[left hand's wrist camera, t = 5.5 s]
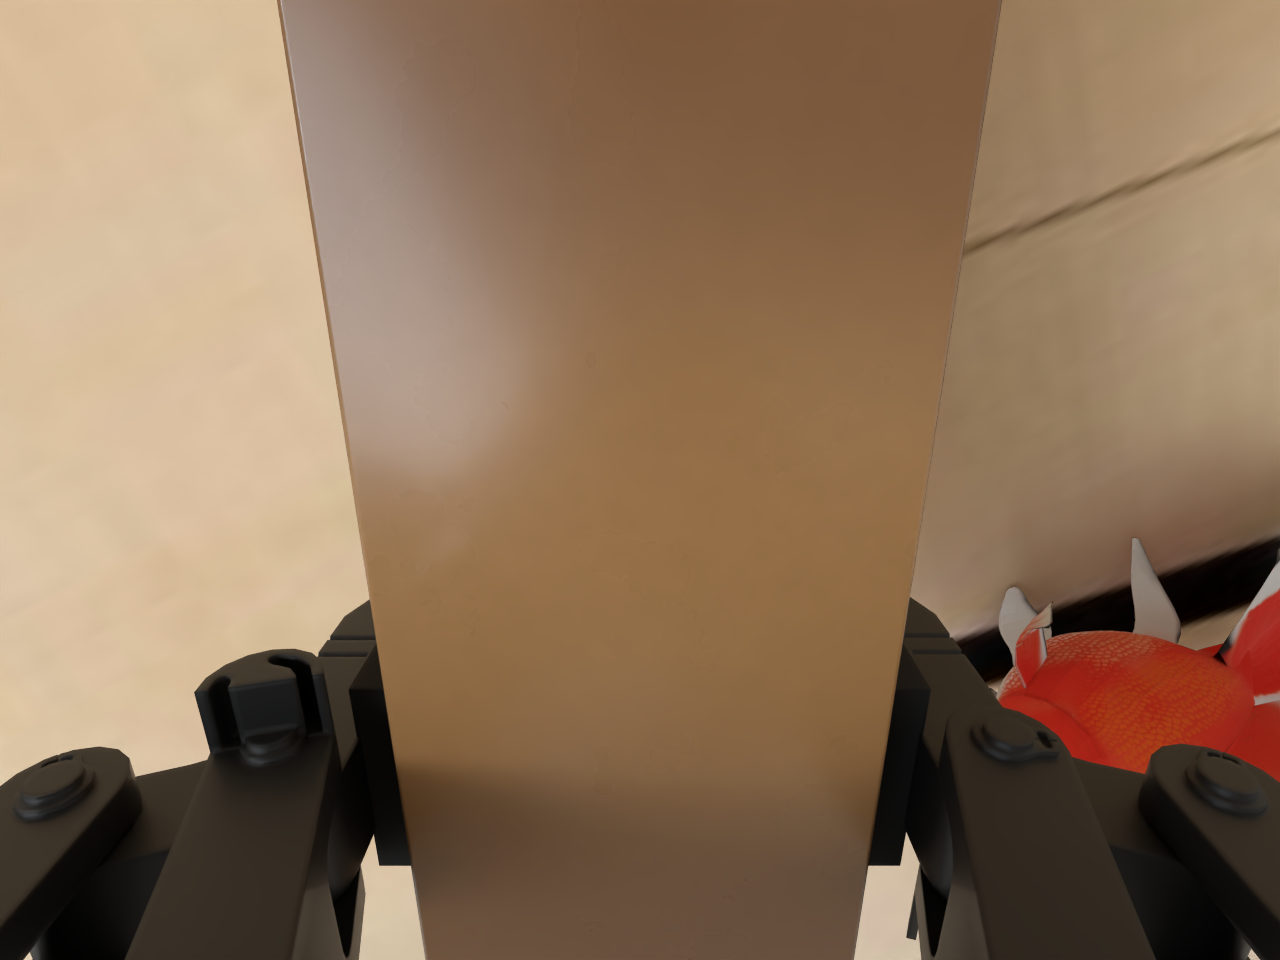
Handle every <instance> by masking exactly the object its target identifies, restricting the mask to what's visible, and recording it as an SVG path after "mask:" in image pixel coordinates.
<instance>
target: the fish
mask: <svg viewBox="0 0 1280 960" xmlns="http://www.w3.org/2000/svg"><path fill="white" fill-rule="evenodd" d="M1131 586H1132V594H1133V601H1134V607H1135V619H1136V620H1135V627H1134V631H1133V633H1130V632H1120V631H1088V632H1076V633H1068V634H1063V635H1058V636H1055V637H1052V638H1051V633H1052V632H1051V627H1050V625H1051V623H1052V603H1053V601H1052V602H1051V603H1050V604H1049V605H1048V606H1047V607H1046V608H1045V609H1044V610H1043V611H1042V612H1041V613H1040V614H1039V613H1038V612H1037V611H1036V610H1035V609H1034V608H1033V607H1032V606H1031V605H1030V603H1029V602H1028V601H1027V599H1026V598H1025V596H1024V595H1023V593H1022V592H1021V590H1020V589H1019V588H1017V587H1012V588H1009V589H1008V590H1007V592H1006V594H1005V597H1004V600H1003V603H1002V607H1001V611H1000V615H999V629H1000V633H1001V635H1002V637H1003V639H1004V641H1005V642H1006V644H1007V645H1008V647H1009V649H1010V651H1011V654H1012V658H1013V665H1014V667H1013V668H1012V669H1011V670H1010V671H1009V673H1008V674H1007V675H1006V677H1005V678H1004V679H1003V681H1002V683H1001V685H1000V688H999V690H998V692H995V691H994V690H993V689H991V688H989V689H990V690H991V692H992V693H993V694H994V696H995V697H996V698H997V700H998V701H999V703H1000V704H1001V705H1002V707H1004V708H1008V709H1012V710H1015V711H1019V712H1021V713H1023V714H1025V715H1027V716H1029V717H1031V718H1033V719H1036V720H1038V721H1040V722H1041V723H1043V724H1044V725H1045V726H1047V727H1048V728H1049V729H1050V730H1052V731H1053V732H1054V733H1056V734H1057V735H1058V736H1059V737H1060V738H1061V740H1062V741H1063V743H1064V744H1065V746H1066V747H1067V749H1068V750H1069V751H1070V754H1071V756H1072V757H1075V758H1078V759H1082V760H1085V761H1089V762H1093V763H1097V764H1102V765H1107V766H1111V767H1116V768H1120V769H1125V770H1130V771H1134V772H1139V773H1143V774H1145V773H1146V770H1147V766H1148V763H1149V760H1150V757H1151V755H1152V754H1153V753H1154V752H1155V751H1157V750H1158V749H1159V748H1160V747H1162V746H1167V745H1174V744H1189V745H1196V746H1204V747H1209V748H1212V749H1216V750H1220V751H1221V752H1226V753H1228V754H1231V755H1234V756H1236V757H1238V758H1240V759H1242V760H1244V761H1246V762H1248V763H1250V764H1252V765H1254V766H1256V767H1258V768H1260V769H1262V770H1264V771H1265V772H1266V773H1268V774H1269V775H1270V776H1272V777H1273V778H1274V779H1276V780H1277V781H1278V782H1280V548H1279V549H1278V552H1277V561H1276V565H1275V567H1274V568H1273V570H1272V572H1271V573H1270V575H1269V576H1268V578H1267V580H1266V581H1265V583H1264V585H1263V586H1262V588H1261V589H1260V591H1259V592H1258V594H1257V595H1256V597H1255V598H1254V600H1253V601H1252V603H1251V604H1250V606H1249V607H1248V609H1247V610H1246V612H1245V613H1244V614H1243V616H1242V617H1241V619H1240V620H1239V622H1238V623H1237V625H1236V626H1235V627H1234V629H1233V630H1232V632H1231V633H1230V635H1229V636H1228V638H1227V639H1226V641H1225V642H1224V643H1223V644H1220V645H1216V646H1212V647H1208V648H1204V649H1200V650H1197V651H1195V650H1192V649H1189V648H1186V647H1183V646H1180V645H1178V644H1177V643H1178V641H1179V638H1180V635H1181V627H1180V620H1179V618H1178V616H1177V614H1176V611H1175V609H1174V607H1173V605H1172V603H1171V601H1170V600H1169V598H1168V596H1167V594H1166V593H1165V591H1164V589H1163V587H1162V585H1161V583H1160V582H1159V580H1158V578H1157V576H1156V574H1155V572H1154V570H1153V568H1152V566H1151V563H1150V561H1149V559H1148V557H1147V555H1146V553H1145V550H1144V548H1143V546H1142V544H1141V542H1140V540H1139V539H1137V538H1132V562H1131Z"/></svg>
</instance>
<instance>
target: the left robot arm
mask: <svg viewBox="0 0 1280 960" xmlns="http://www.w3.org/2000/svg"><path fill="white" fill-rule="evenodd" d="M194 693H195V697H196V701H197V704H198V708H199V712H200V716H201V719H202V723H203V727H204V730H205V734H206V738H207V742H208V745H209V749H210V755H209V757H208V760H205V761H202V762H198V763H195V764H191V765H187V766H183V767H178V768H173V769H169V770H164V771H160V772H155V773H151V774H146V775H142V776H137V777H135V775H134V771H133V768H132V765H131V762H130V759H129V758H128V757H127V756H126V755H125V754H123V753H122V752H121V751H120V750H118V749H112V748H105V747H93V748H85V749H78V750H72V751H69V752H66V753H62V754H60V755H55V756H53V757H50V758H47V759H45V760H43V761H41V762H39V763H37V764H35V765H33V766H31V767H29V768H27V769H25V770H23V771H21V772H19V773H18V774H16V775H15V776H13V777H12V778H11V779H9V780H8V781H7V782H5V783H4V784H3V785H1V786H0V960H23V959H24V958H25V957H26V956H27V954H28V953H29V952H30V954H31V956H32V958H33V960H359V952H360V942H361V932H362V922H363V913H364V903H365V888H364V881H363V875H362V870H361V863H362V860H363V858H364V856H365V853H366V851H367V849H368V846H369V844H370V841H371V839H372V837H373V834H374V838H375V843H376V849H377V855H378V860H379V866H411V862H410V855H409V849H408V842H407V836H406V830H405V823H404V817H403V810H402V804H401V797H400V791H399V784H398V778H397V771H396V765H395V759H394V752H393V746H392V739H391V733H390V726H389V720H388V713H387V707H386V700H385V694H384V687H383V681H382V675H381V668H380V662H379V655H378V649H377V642H376V636H375V629H374V623H373V616H372V610H371V604H370V600H368V601H367V602H365V603H364V604H362V605H361V606H359V607H358V608H356V609H355V610H353V611H352V612H351V613H349V614H348V615H346V616H345V617H344V618H343V619H342V621H341V622H340V624H339V625H338V626H337V628H336V629H335V631H334V632H333V633H332V635H331V636H330V640H327V642H326V643H325V644H324V646H323V647H322V649H321V650H320V651H319V655H318V657H316V656H315V655H314V654H313V653H310V652H306V651H301V650H297V649H277V650H269V651H265V652H260V653H256V654H252V655H248V656H245V657H243V658H241V659H238V660H236V661H234V662H231V663H229V664H226V665H224V666H223V667H222V668H220V669H219V670H217V671H216V672H214V673H213V674H211V675H210V676H208V677H207V678H206V679H205V680H204V681H203V682H202V684H201V685H200V686H199V687H198V688H197V690H196V691H195V692H194ZM906 832H907V834H908V837H909V839H910V841H911V844H912V846H913V848H914V851H915V853H916V855H917V858H918V860H919V863H920V865H919V870H918V875H917V881H916V886H915V891H914V896H913V902H912V907H911V912H910V918H909V923H908V930H907V937H906V938H910V939H914V940H916V936H917V931H918V930H919V940H920V950H921V960H1250V959H1249V957H1248V954H1249V952H1250V950H1251V949H1252V950H1253V951H1254V952H1255V954H1256V955H1257V956H1258V957H1259V959H1260V960H1280V782H1278V781H1277V780H1276V779H1274V778H1273V777H1272V776H1270V775H1269V774H1268V773H1266V772H1265V771H1264V770H1262V769H1260V768H1258V767H1256V766H1254V765H1252V764H1250V763H1248V762H1246V761H1244V760H1242V759H1240V758H1238V757H1236V756H1234V755H1231V754H1228V753H1226V752H1221V751H1220V750H1216V749H1212V748H1209V747H1204V746H1196V745H1189V744H1174V745H1167V746H1162V747H1160V748H1159V749H1158V750H1157V751H1155V752H1154V753H1153V754H1152V755H1151V757H1150V760H1149V763H1148V766H1147V770H1146V773H1145V774H1143V773H1139V772H1134V771H1130V770H1125V769H1120V768H1116V767H1111V766H1107V765H1102V764H1097V763H1093V762H1089V761H1085V760H1082V759H1078V758H1075V757H1072V756H1071V754H1070V751H1069V750H1068V749H1067V747H1066V746H1065V744H1064V743H1063V741H1062V740H1061V738H1060V737H1059V736H1058V735H1057V734H1056V733H1054V732H1053V731H1052V730H1050V729H1049V728H1048V727H1047V726H1045V725H1044V724H1043V723H1041V722H1040V721H1038V720H1036V719H1033V718H1031V717H1029V716H1027V715H1025V714H1023V713H1021V712H1019V711H1015V710H1012V709H1008V708H1004V707H1002V705H1001V704H1000V703H999V701H998V700H997V698H996V697H995V696H994V694H993V693H992V692H991V690H990V689H989V687H988V686H987V685H986V683H985V682H984V681H983V679H982V678H981V676H980V675H979V674H978V672H977V671H976V670H975V668H974V667H973V665H972V664H971V663H970V661H969V660H968V659H967V657H966V656H965V654H962V653H961V649H960V648H959V646H958V645H957V643H956V642H955V641H954V639H953V638H950V636H949V632H948V631H947V630H946V628H945V627H944V626H943V624H942V623H941V621H940V620H939V619H938V617H937V616H936V615H935V614H934V613H933V612H931V611H930V610H928V609H927V608H925V607H924V606H922V605H921V604H919V603H918V602H917V601H915V600H914V599H912V598H911V597H910V598H909V605H908V611H907V618H906V624H905V631H904V637H903V644H902V650H901V657H900V663H899V670H898V676H897V683H896V689H895V696H894V702H893V708H892V715H891V721H890V728H889V734H888V741H887V747H886V754H885V760H884V767H883V773H882V780H881V786H880V793H879V799H878V806H877V812H876V818H875V825H874V831H873V838H872V844H871V851H870V857H869V864H868V866H900V863H901V858H902V852H903V846H904V841H905V835H906Z"/></svg>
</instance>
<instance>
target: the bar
mask: <svg viewBox="0 0 1280 960" xmlns="http://www.w3.org/2000/svg"><path fill="white" fill-rule="evenodd" d="M277 3H278V9H279V16H280V22H281V29H282V35H283V42H284V48H285V55H286V61H287V68H288V74H289V81H290V87H291V93H292V100H293V106H294V113H295V119H296V126H297V132H298V139H299V145H300V152H301V158H302V164H303V171H304V177H305V184H306V190H307V197H308V203H309V210H310V216H311V223H312V229H313V235H314V242H315V248H316V255H317V261H318V268H319V274H320V281H321V287H322V294H323V300H324V307H325V313H326V319H327V326H328V332H329V339H330V345H331V352H332V358H333V365H334V371H335V378H336V384H337V390H338V397H339V403H340V410H341V416H342V423H343V429H344V436H345V442H346V449H347V455H348V461H349V468H350V474H351V481H352V487H353V494H354V500H355V507H356V513H357V520H358V526H359V533H360V539H361V545H362V552H363V558H364V565H365V571H366V578H367V584H368V591H369V597H370V604H371V610H372V616H373V623H374V629H375V636H376V642H377V649H378V655H379V662H380V668H381V675H382V681H383V687H384V694H385V700H386V707H387V713H388V720H389V726H390V733H391V739H392V746H393V752H394V759H395V765H396V771H397V778H398V784H399V791H400V797H401V804H402V810H403V817H404V823H405V830H406V836H407V842H408V849H409V855H410V862H411V868H412V875H413V881H414V888H415V894H416V901H417V907H418V913H419V920H420V926H421V933H422V939H423V946H424V952H425V959H426V960H854V954H855V948H856V941H857V935H858V928H859V922H860V916H861V909H862V903H863V896H864V890H865V883H866V877H867V870H868V864H869V857H870V851H871V844H872V838H873V831H874V825H875V818H876V812H877V806H878V799H879V793H880V786H881V780H882V773H883V767H884V760H885V754H886V747H887V741H888V734H889V728H890V721H891V715H892V708H893V702H894V696H895V689H896V683H897V676H898V670H899V663H900V657H901V650H902V644H903V637H904V631H905V624H906V618H907V611H908V605H909V598H910V592H911V585H912V579H913V573H914V566H915V560H916V553H917V547H918V540H919V534H920V527H921V521H922V514H923V508H924V501H925V495H926V488H927V482H928V475H929V469H930V463H931V456H932V450H933V443H934V437H935V430H936V424H937V417H938V411H939V404H940V398H941V391H942V385H943V378H944V372H945V365H946V359H947V353H948V346H949V340H950V333H951V327H952V320H953V314H954V307H955V301H956V294H957V288H958V281H959V275H960V268H961V262H962V255H963V249H964V243H965V236H966V230H967V223H968V217H969V210H970V204H971V197H972V191H973V184H974V178H975V171H976V165H977V158H978V152H979V145H980V139H981V133H982V126H983V120H984V113H985V107H986V100H987V94H988V87H989V81H990V74H991V68H992V61H993V55H994V48H995V42H996V35H997V29H998V23H999V16H1000V10H1001V3H1002V0H277Z"/></svg>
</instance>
